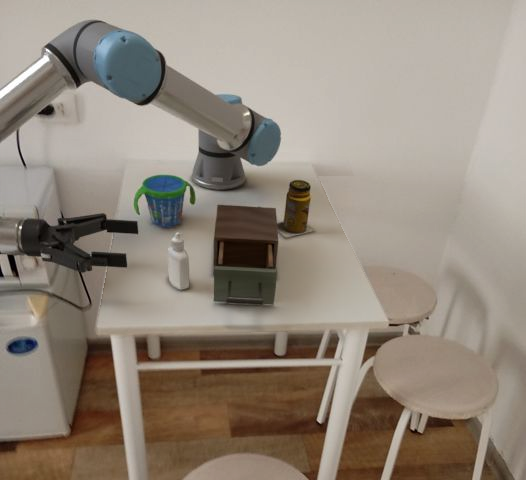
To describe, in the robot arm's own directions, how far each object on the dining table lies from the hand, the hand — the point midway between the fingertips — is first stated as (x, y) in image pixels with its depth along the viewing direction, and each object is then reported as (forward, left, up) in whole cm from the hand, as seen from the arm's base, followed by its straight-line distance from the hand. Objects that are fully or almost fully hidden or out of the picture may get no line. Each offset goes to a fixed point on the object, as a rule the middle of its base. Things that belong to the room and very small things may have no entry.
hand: (132, 243), depth 113 cm
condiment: (-28, +35, -9) cm, 46 cm away
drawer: (+4, +23, -8) cm, 25 cm away
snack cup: (-28, +3, -9) cm, 30 cm away
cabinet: (-12, +23, -9) cm, 27 cm away
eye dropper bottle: (0, +9, -9) cm, 13 cm away
